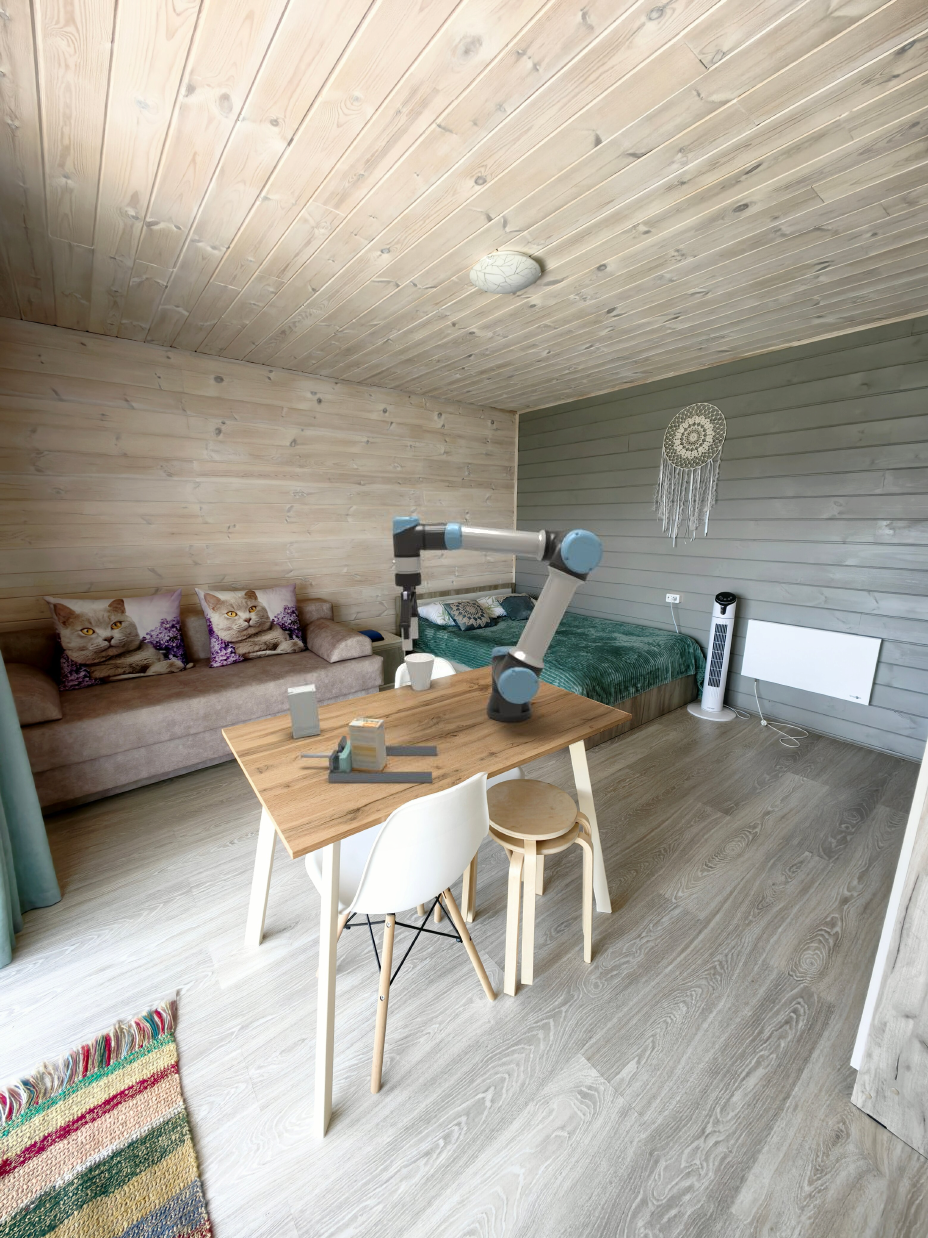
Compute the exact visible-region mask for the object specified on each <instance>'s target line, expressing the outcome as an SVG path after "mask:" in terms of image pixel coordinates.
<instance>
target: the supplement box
mask: <svg viewBox="0 0 928 1238" xmlns="http://www.w3.org/2000/svg"><path fill="white" fill-rule="evenodd" d="M385 730H386V729H385V720H384V719H377V718H365V717H364V718H363V717H362V718H361V717H355V718H354V719H353V720H352V721H351V722H349V723H348V732H349V733H348V735H349V740H350V747H351V759H352V769H351V771H357V772H383V770H384V769H385V768H386V766H387V765H388V763H387V756H386V746H387V745H386V731H385Z"/></svg>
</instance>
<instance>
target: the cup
mask: <svg viewBox="0 0 928 1238" xmlns="http://www.w3.org/2000/svg"><path fill="white" fill-rule="evenodd" d="M435 658H436V656H435V655H433V654H431V653H424V652H422V653H421V652H420V653H419V652H418V653H411V654H408V655H406V656H405V657H404V661H405V665H406V669H407V673H408V677H409V680H410V685H411V689H412V690H413V691H417V692H421V691H426V690H428V689H430V687H431V680H432V674H433V669H434V663H435Z"/></svg>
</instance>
